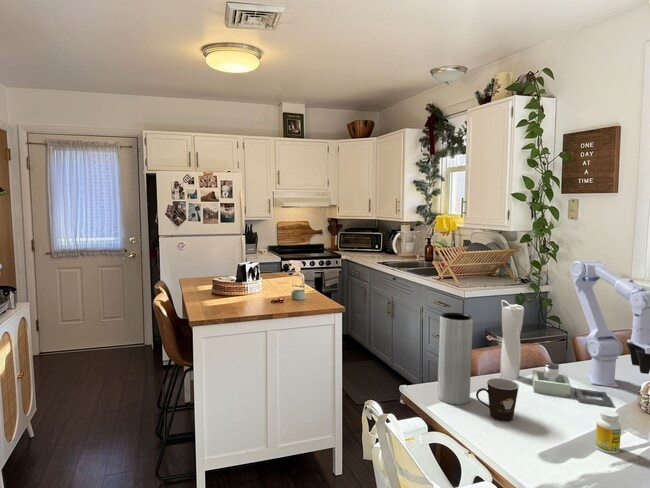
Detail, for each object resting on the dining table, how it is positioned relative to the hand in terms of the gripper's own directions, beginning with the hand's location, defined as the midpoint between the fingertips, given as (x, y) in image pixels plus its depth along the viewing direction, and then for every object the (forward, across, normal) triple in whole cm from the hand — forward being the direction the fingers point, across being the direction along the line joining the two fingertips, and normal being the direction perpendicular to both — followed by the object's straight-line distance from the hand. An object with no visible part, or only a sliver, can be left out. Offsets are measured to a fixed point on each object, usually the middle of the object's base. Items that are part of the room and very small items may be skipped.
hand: (640, 369), depth 149 cm
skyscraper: (+10, -8, -39) cm, 41 cm away
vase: (+10, +19, -57) cm, 61 cm away
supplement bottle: (+10, +39, -18) cm, 44 cm away
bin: (+10, 0, -26) cm, 28 cm away
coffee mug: (+10, +28, -45) cm, 54 cm away
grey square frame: (+10, +5, -14) cm, 18 cm away
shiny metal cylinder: (+9, 0, -26) cm, 27 cm away
